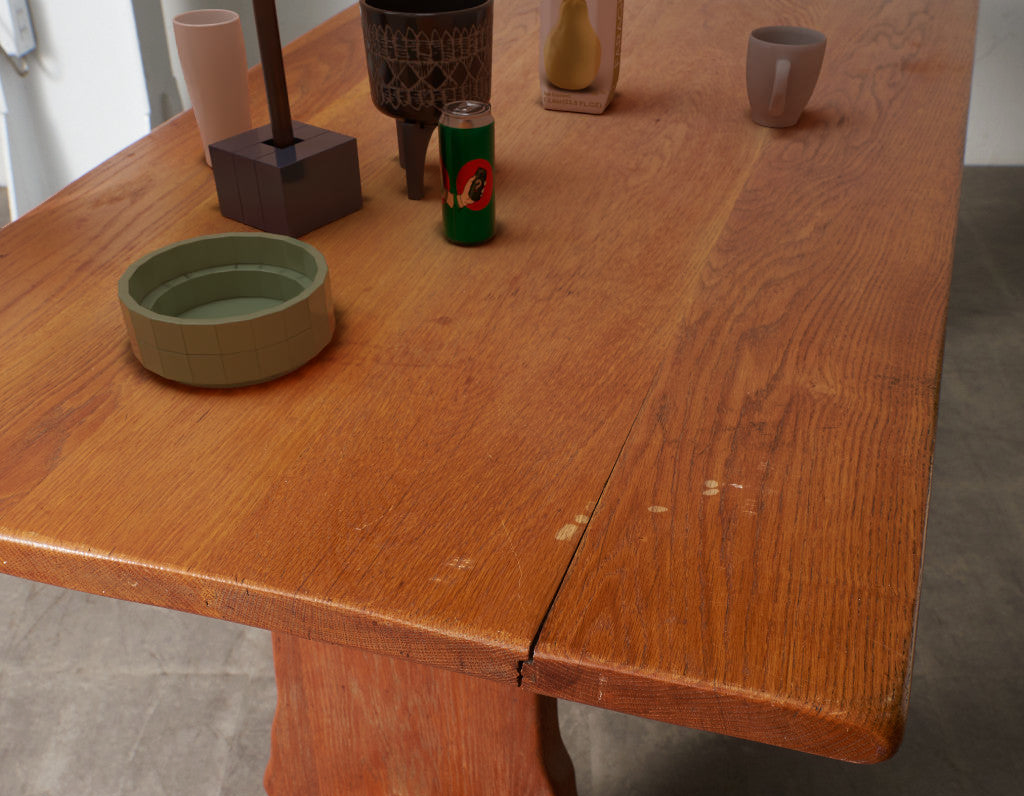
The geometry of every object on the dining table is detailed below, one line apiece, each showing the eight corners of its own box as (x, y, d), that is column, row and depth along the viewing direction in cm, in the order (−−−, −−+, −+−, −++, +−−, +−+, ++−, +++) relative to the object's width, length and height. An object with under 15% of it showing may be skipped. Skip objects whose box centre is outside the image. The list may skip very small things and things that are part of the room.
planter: (351, 177, 108) (332, -5, 97) (447, 150, 115) (440, -24, 103) (422, 214, 101) (410, 21, 89) (520, 182, 107) (521, -1, 96)
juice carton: (534, 111, 125) (536, -115, 110) (551, 92, 131) (555, -125, 116) (607, 118, 123) (620, -111, 108) (621, 98, 129) (635, -121, 114)
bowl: (95, 353, 80) (74, 283, 76) (247, 281, 89) (235, 216, 85) (226, 420, 72) (210, 346, 68) (376, 334, 82) (369, 265, 78)
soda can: (505, 232, 97) (505, 104, 90) (478, 252, 94) (474, 120, 86) (461, 221, 99) (457, 95, 92) (432, 240, 96) (425, 111, 88)
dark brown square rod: (278, 211, 101) (244, -8, 88) (292, 205, 102) (261, -12, 90) (295, 217, 100) (263, -4, 87) (310, 211, 101) (280, -8, 89)
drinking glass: (250, 177, 108) (225, 26, 99) (190, 173, 109) (159, 24, 100) (271, 155, 113) (249, 9, 104) (214, 151, 114) (187, 7, 105)
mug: (740, 106, 127) (752, 23, 120) (812, 111, 125) (828, 27, 119) (732, 138, 118) (745, 50, 111) (810, 144, 116) (826, 55, 110)
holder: (221, 215, 100) (207, 144, 96) (295, 184, 107) (285, 117, 102) (290, 240, 96) (279, 168, 91) (363, 207, 102) (356, 137, 97)
